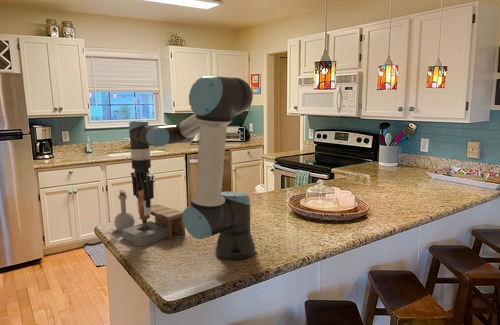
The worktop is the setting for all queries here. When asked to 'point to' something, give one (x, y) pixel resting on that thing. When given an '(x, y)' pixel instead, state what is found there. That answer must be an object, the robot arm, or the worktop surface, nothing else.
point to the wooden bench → (168, 219)
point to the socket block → (145, 233)
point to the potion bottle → (123, 214)
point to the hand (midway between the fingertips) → (144, 213)
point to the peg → (142, 205)
